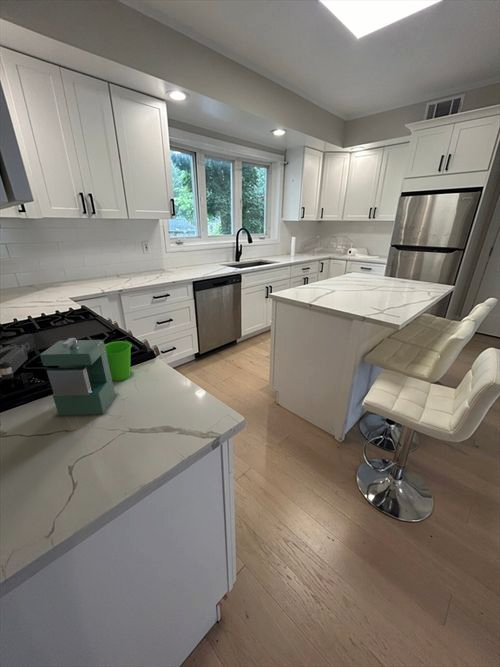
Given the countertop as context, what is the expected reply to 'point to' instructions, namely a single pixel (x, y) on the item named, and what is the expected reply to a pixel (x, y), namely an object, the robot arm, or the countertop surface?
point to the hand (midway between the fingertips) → (29, 340)
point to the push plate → (69, 381)
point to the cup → (119, 359)
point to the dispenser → (97, 370)
